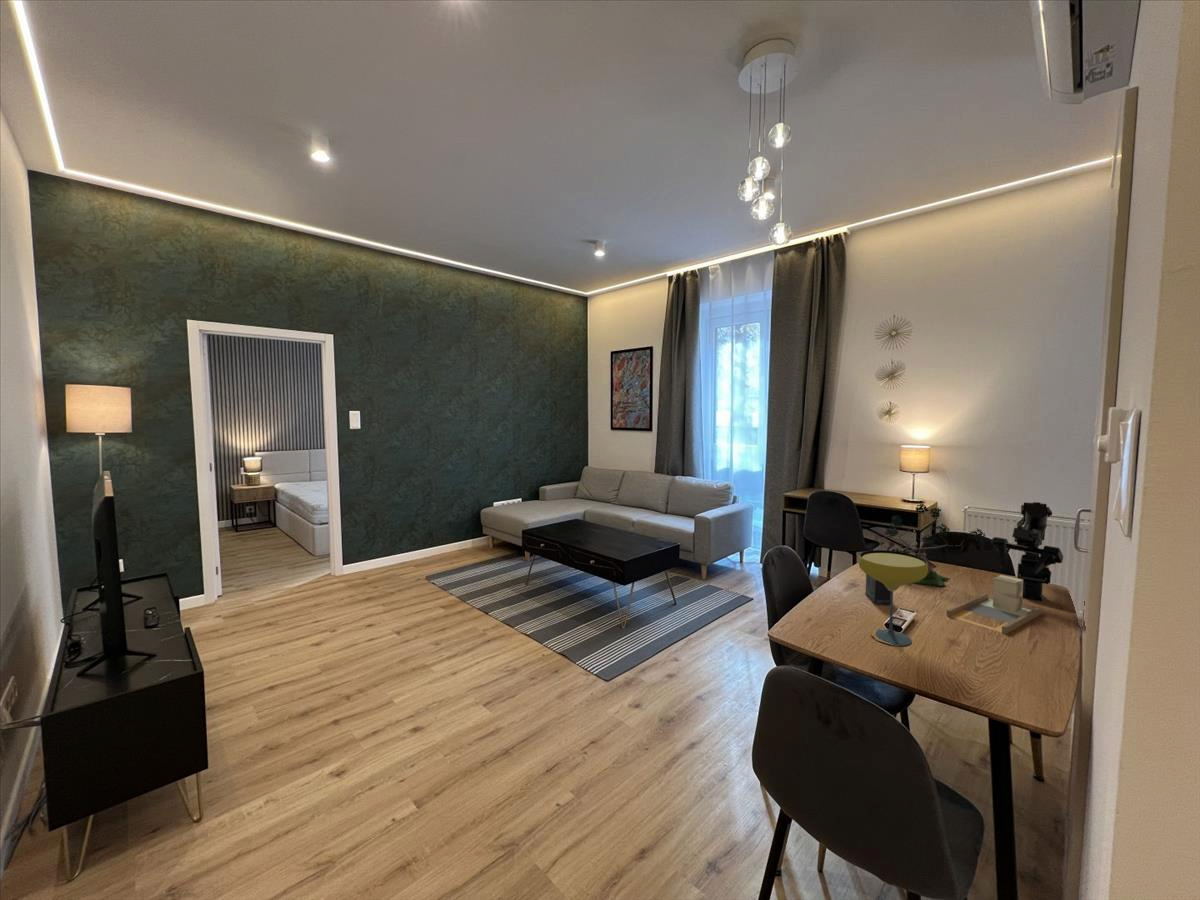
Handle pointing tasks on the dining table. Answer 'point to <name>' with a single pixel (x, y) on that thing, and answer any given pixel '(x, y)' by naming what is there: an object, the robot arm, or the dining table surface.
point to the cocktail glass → (893, 580)
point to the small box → (877, 591)
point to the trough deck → (993, 613)
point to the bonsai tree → (931, 574)
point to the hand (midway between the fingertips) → (1017, 569)
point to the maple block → (1008, 593)
